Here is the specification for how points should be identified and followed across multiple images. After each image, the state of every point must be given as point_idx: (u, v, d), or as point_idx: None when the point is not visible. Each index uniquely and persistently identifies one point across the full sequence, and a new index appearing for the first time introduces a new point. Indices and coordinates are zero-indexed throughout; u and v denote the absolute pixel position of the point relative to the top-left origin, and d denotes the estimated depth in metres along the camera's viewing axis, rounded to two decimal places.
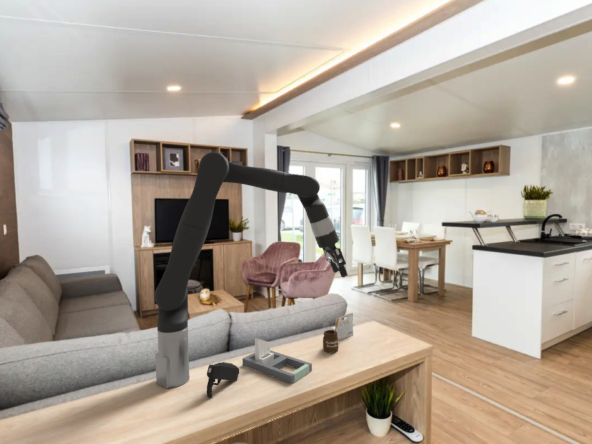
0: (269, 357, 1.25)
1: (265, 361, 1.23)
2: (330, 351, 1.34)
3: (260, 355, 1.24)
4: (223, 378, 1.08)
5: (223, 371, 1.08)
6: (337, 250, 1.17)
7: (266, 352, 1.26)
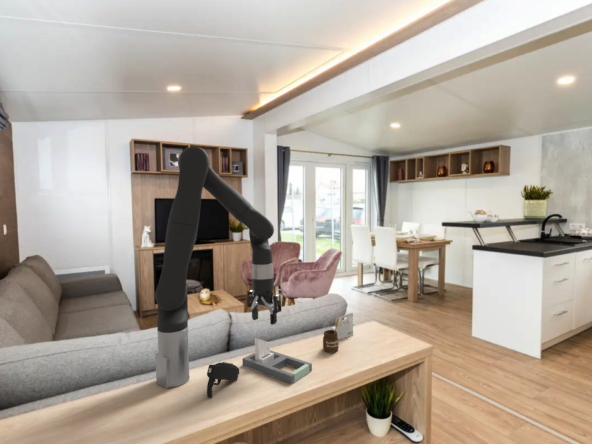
0: (269, 357, 1.25)
1: (265, 361, 1.23)
2: (330, 351, 1.34)
3: (260, 355, 1.24)
4: (223, 378, 1.08)
5: (223, 371, 1.08)
6: (278, 296, 1.20)
7: (266, 352, 1.26)
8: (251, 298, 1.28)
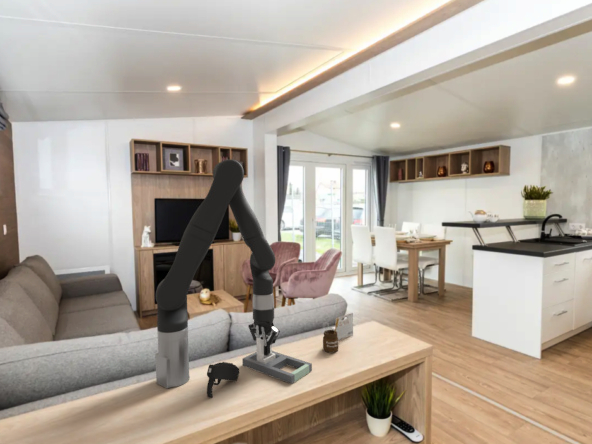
0: (271, 357, 1.24)
1: (267, 361, 1.23)
2: (330, 351, 1.34)
3: (262, 355, 1.23)
4: (223, 378, 1.08)
5: (223, 371, 1.08)
6: (277, 332, 1.21)
7: None
8: (254, 331, 1.28)
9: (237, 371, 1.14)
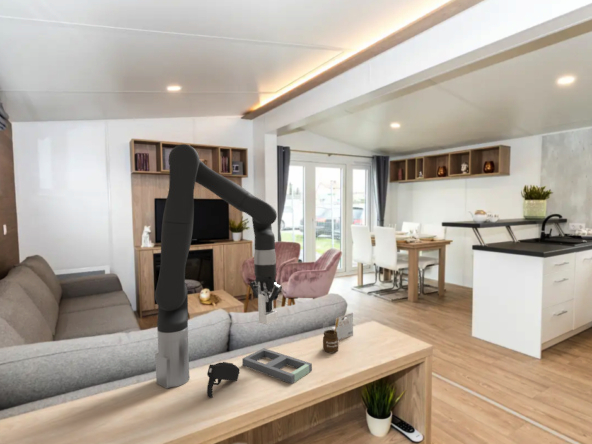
0: (273, 314, 1.23)
1: (269, 317, 1.21)
2: (330, 351, 1.34)
3: (263, 311, 1.22)
4: (223, 378, 1.08)
5: (224, 371, 1.08)
6: (279, 288, 1.20)
7: None
8: (256, 288, 1.26)
9: (237, 371, 1.14)
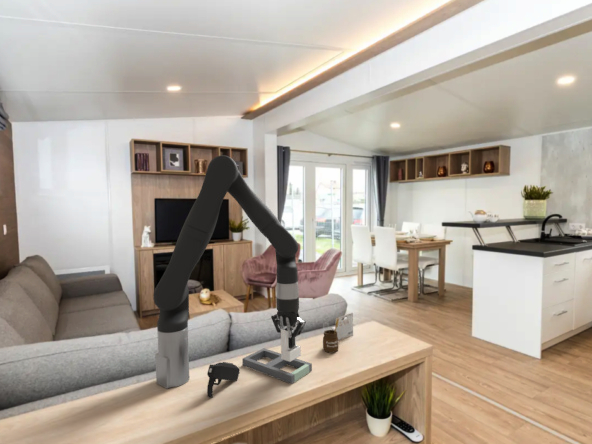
0: (296, 350, 1.17)
1: (292, 354, 1.16)
2: (330, 351, 1.34)
3: (286, 348, 1.16)
4: (223, 378, 1.08)
5: (224, 371, 1.08)
6: (303, 323, 1.14)
7: None
8: (278, 322, 1.21)
9: (237, 371, 1.14)
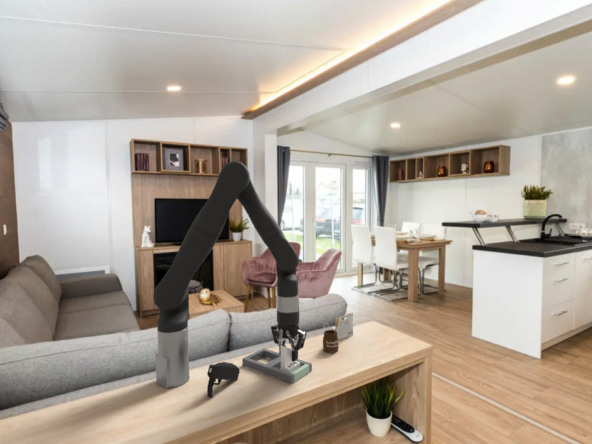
0: (295, 366, 1.18)
1: (291, 370, 1.16)
2: (330, 351, 1.34)
3: (286, 364, 1.17)
4: (223, 378, 1.08)
5: (224, 370, 1.08)
6: (304, 334, 1.14)
7: (292, 361, 1.19)
8: (276, 333, 1.21)
9: (237, 371, 1.14)
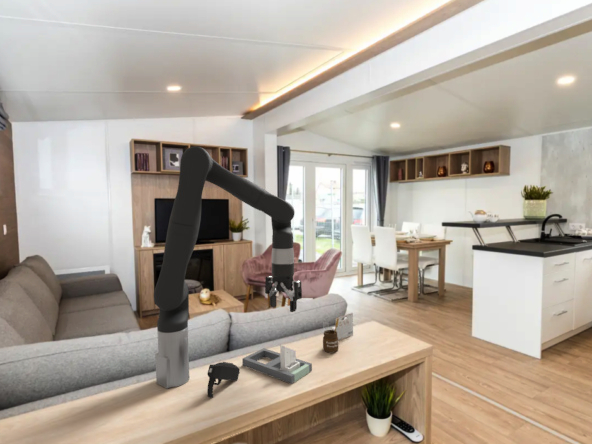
0: (295, 366, 1.18)
1: (291, 370, 1.16)
2: (330, 351, 1.34)
3: (286, 364, 1.17)
4: (224, 378, 1.08)
5: (224, 370, 1.08)
6: (299, 282, 1.15)
7: (292, 361, 1.19)
8: (269, 284, 1.23)
9: (237, 371, 1.14)
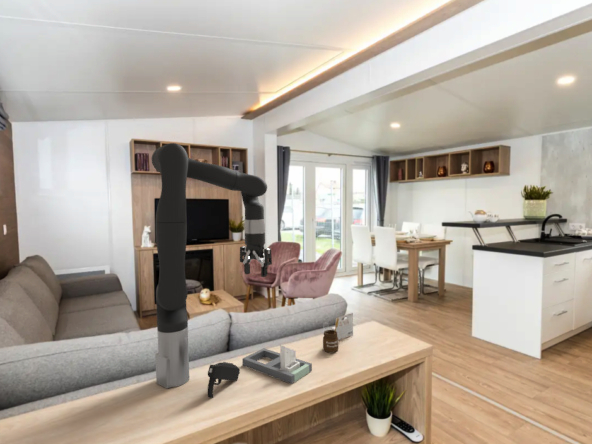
0: (295, 366, 1.18)
1: (291, 370, 1.16)
2: (330, 351, 1.34)
3: (286, 364, 1.17)
4: (224, 378, 1.08)
5: (224, 371, 1.08)
6: (269, 249, 1.27)
7: (292, 361, 1.19)
8: (243, 254, 1.35)
9: (237, 371, 1.14)
